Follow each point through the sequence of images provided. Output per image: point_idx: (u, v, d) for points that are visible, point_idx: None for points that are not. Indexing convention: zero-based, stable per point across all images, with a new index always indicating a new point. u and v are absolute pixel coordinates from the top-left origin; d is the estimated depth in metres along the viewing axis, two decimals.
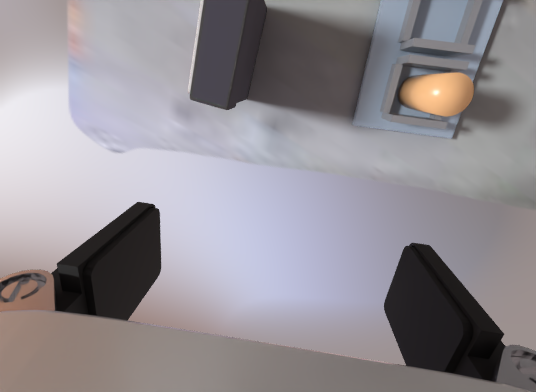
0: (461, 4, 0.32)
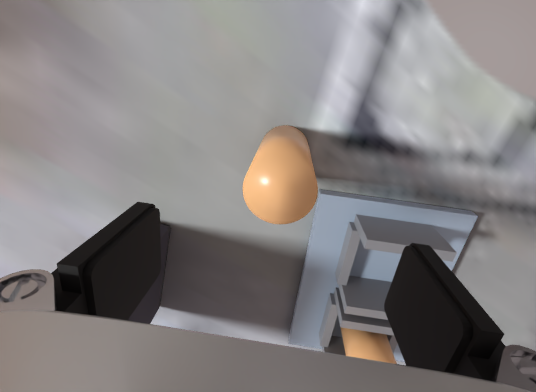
0: None
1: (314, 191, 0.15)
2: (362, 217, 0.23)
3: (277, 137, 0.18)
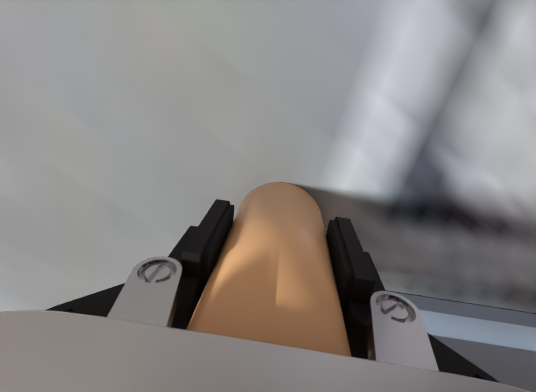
0: None
1: None
2: None
3: (260, 233, 0.08)
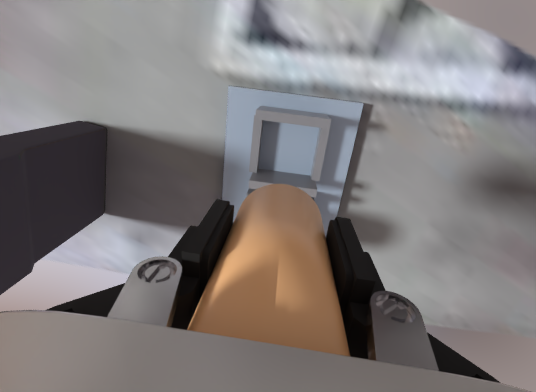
0: (312, 132, 0.28)
1: None
2: (265, 106, 0.27)
3: (260, 235, 0.08)
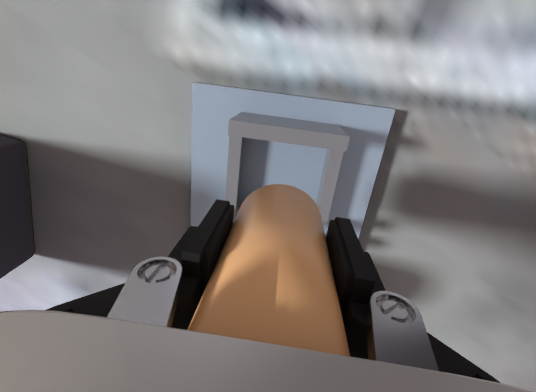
0: (317, 152, 0.19)
1: None
2: (247, 113, 0.18)
3: (260, 235, 0.08)
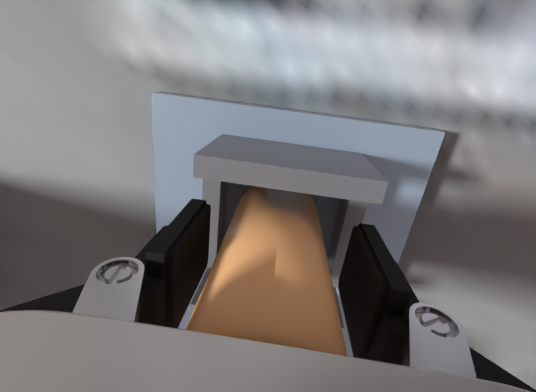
0: None
1: None
2: (229, 136, 0.12)
3: (260, 220, 0.09)
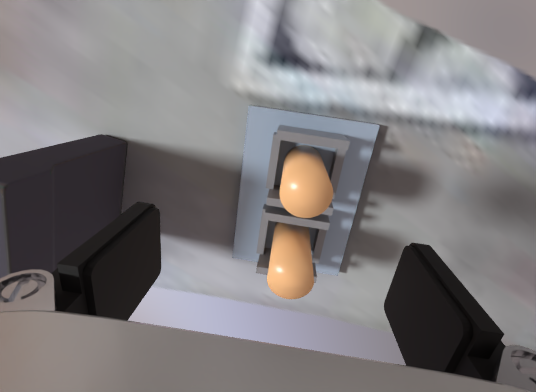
0: (328, 152, 0.29)
1: (330, 194, 0.21)
2: (283, 125, 0.28)
3: (301, 155, 0.25)
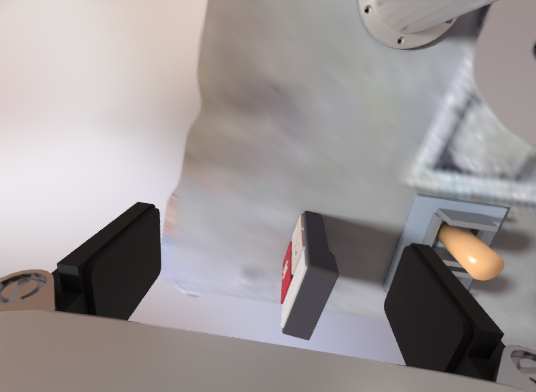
0: None
1: (502, 267, 0.35)
2: (442, 209, 0.42)
3: (467, 235, 0.38)
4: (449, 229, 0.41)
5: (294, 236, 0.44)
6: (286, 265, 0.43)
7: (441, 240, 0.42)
